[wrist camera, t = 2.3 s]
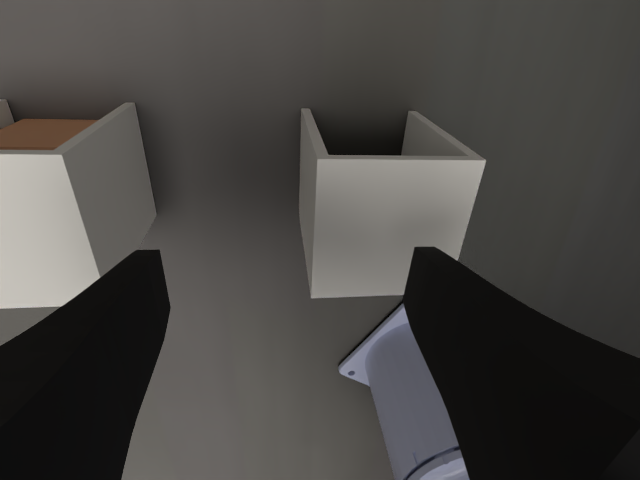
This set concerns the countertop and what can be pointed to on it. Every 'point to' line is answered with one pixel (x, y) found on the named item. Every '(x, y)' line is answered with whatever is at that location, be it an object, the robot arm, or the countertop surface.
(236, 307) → the countertop surface
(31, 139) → the cube
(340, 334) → the countertop surface
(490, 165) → the countertop surface
